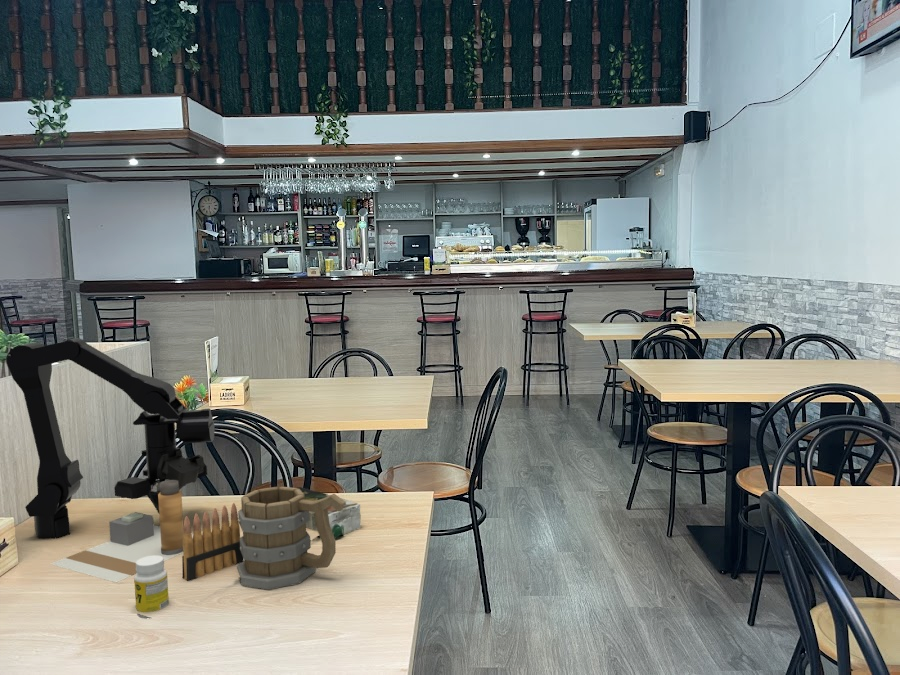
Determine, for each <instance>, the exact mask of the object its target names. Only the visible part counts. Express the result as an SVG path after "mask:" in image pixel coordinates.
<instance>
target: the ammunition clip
mask: <svg viewBox="0 0 900 675" xmlns="http://www.w3.org/2000/svg"><path fill="white" fill-rule="evenodd" d="M211 515H212V516H211V517H212V518H211V519H212V520H210V516H209V513H208V511H207V510H204V513H203V517H202V527H201V520H200V517H199V514H198V513H197V512H195V514H194V518H193V524H192V526H191V523H190V522H191V521H190V519H189V516H187V515H186V516H185V517H184V519H183V531H184V533H183V553H182V554H183V555H182V556H181V558H182V559H181V560H182V564H181V565H182V571H181V573H182V580H183V579H184V580H185V581H187V582H190V581H192V580H196V579H197V578H199V577H203V576H205V575H206V574H212V573H214V572H215V571H220V570H224V568H229V567H232V566H233V565H234V566H237V565H239V564H240V563H242V562H243V561H244V558H243V556H242V553H241V551H240V538H241V530H240V528H241V527H240V524H239V522H238V521H239V516H238V509H237V505H236V503H235V502H233V503H232V505H231V508H230V519H229V511H228V509H227V507H226V504H225V505H223V506H222V511H221V526H220V517H219V516H220V515H219V512H218V510H217V508H216V507H215V508H213V512H212V514H211ZM229 520H230V521H229ZM211 523H212V524H211ZM201 528H202V529H201ZM192 531H193V532H192ZM191 533H193V539H192V534H191Z"/></svg>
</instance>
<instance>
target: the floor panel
mask: <svg viewBox="0 0 900 675" xmlns="http://www.w3.org/2000/svg"><path fill="white" fill-rule="evenodd" d="M153 525H154V524H153ZM191 534H192V539H193V532H191ZM181 554H183V552H181V553H178V554H174V555H164V554H162V553H161V533H160V525H154V536H151V537H149V538H146V539H144V540H141V541H139V542H136V543H134V544H131V545H129V546H127V545H123V544H118V543H114V542H111V541H110V540H108V541H106V542H103V543H100V544H98V545H95V546H93V547H91V548H88V549H85V550H82V551H80V552H77V553H75V554H71V555H69V556H66V557H64V558H61V559H59V560H56V561H54V562H51V563H49V565H51V566H55V567H58V568H62V569H66V570H68V571H73V572H77V573H80V574H82V575H88V576H90V577H94V578H98V579H102V580H105V581H109V582H112V583H118V582H121V581H124V580H125V579H128V578H130V577H132V576H135V574H136V573H137V572H136V561H137V560H139V559H140V558H143V557H146V556H153V555H157V556H162V557H163V559H164V562H166V561H168V560H170V559H172V558H175V557H177V556H180V555H181Z"/></svg>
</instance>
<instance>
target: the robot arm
mask: <svg viewBox="0 0 900 675" xmlns="http://www.w3.org/2000/svg"><path fill="white" fill-rule="evenodd" d="M5 361H6V362H5V364H6V367H7V368H8V370H9V373H10V375H11V378H12V380H13V381H14V382H15V384H16V385H17V386H18V387H19V388H20V390H21V391H22V393H23V397H24V400H25V406H26V410H27V415H28V418H29V422H30V426H31V431H32V434H33V438H34V443H35V447H36V451H37V455H38V459H39V465H38V470H37V477H36V484H37V485H36V487H37V495H35V496H34V497H33V498H32V499H31V500H30V502H29V503H27V505H25V507H24V508H25V509H26V510H25V511H26V513H27V514H28V516H29V517H31V518H32V517H33V519H34V520H33V521H34V522H33V523H34V535H35V537H36V538H37V539H40V540H48V539H53V540H54V539H61V538H63V537H67V536H69V535H71V527H70V526H71V525H70V517H69V509H68V506H67V504H68V503H70V502H71V500H72V498H73V495H75V494H76V493H77V492H78V491H79V489H80V487H81V484H82V483H81V481H82V479H84V476H83V474H82V473H81V471H80V462H79V459H75V460H73V461H72V460H71V459H70V458H69V456H68V455H67V454H66V452H65V446H64V443H63V439H62V435H61V431H60V430H61V429H60V427H59V426H60V425H59V422H58V418H57V414H56V413H57V412H56V409H55V404H54V400H53V395H52V392H51V385H50V382H51V377H52V372H53V365H52V364H54V363H60V362H64V361H71V362H73V363H75V364H77V365H79V366H80V367H82V368H84V369H85V370H87V371H88V372H90V373H92V374H93V375H96V376H97V377H99V378H101V379H102V380H104V381H106V382H108V383H109V384H111V385H113V386H115V387H117V388H118V389H120V390H122V391H123V393H126V395H127V396H128V397H129V399H130V400H131V401H132V402H133V403H134V404H136V405H137V406H138V407H139V408H140V409H142V410H143V411H142V412H140V413H139V415H138V417H137V418H136V419H135V420H133V422H132V425H134V426H142V425H144V440H145V449H143V450H141V456H142V457H146V458H145V459H146V469H144V470H142V475H143V476H144V477H147V478H140V477H134V476H131V477H128V478H125V479H121V480H118V481H117V482H116V483H115V484H114V496H116V497H119V498H123V499H124V498H126V499H131V500H137V499H139V498H144V497H146V496H147V498H148V499H149V500H150V502H151V503H152V504H153V506H154V508H155V510H156V512H157V513H158V514H159V500H158V494H159V493H160V483H161V482H163V481H167V480H178V483H179V490H180V491H181V489H183V487H185V486H186V485H188V484H192V483H193V484H194V483H196V482H197V480H198V479H199V478H202V477H205V476H207V475H208V466H207V465H206V464H205V462H204V457H203V456H202V455H201V454H196V455H193V456H191V457H187V458H185V457H183V450H182V449H181V447H177V442H176V440H179V441H181V442H182V443H183V444H197V443H213V442H214V439H215V422H214V419H213V415H212V410H211V409H212V408H202V409H192V410H188V409H187V407H186V406H185V405H184V404H183V403H182V402H181V401H180V399H179V398H178V397H177V396H176V392H175V387H174V386H173V385H171V383H168V382H167V381H163V380H162V379H158V378H157V377H153V376H150V375H145V374H142V373H140V372H137V371H135V370H134V369H131V368H130V367H129V366H126V365H124V364H123V363H121V362H119V361H117V360H116V359H114V358H113V357H111V356H109V355H108V354H105V353H104V352H102V351H100V350H99V349H97V348H95V346H92V345H90V344H88V343H87V342H86V341H85V340H84V339H82V338H80V337H74V338H70V339H67V340H64V341H61V342H55V343H52V344H47V345H44V344H43V343H41V342H40V343H39V342H29V343H25V344H21V345H18V346H15V347H13V348H11V349H10V350H9V352H8V353H7V354H6V356H5ZM176 437H177V439H176Z"/></svg>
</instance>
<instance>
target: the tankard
mask: <svg viewBox="0 0 900 675" xmlns="http://www.w3.org/2000/svg"><path fill="white" fill-rule="evenodd" d="M329 495H330V496H328V497H325V498H323V499H320V500H317V501H310V500H305V495H304V494H303V493H302V491H301V490H300V489H298V488H297V487H289V486H273V487H265V488H260V489H259V488H258V489H257V490H256V489H255V490H252V491H251V492H249V493H246V494H244V495H243V496H241V498H240V499H241V500H240V501H241V503H240V504H241V509H238V510H237V513H238V522H239V527H240V528H241V531H242V536H240V551H241V553H242V556H243V560H244V561H243V562H242V563H239V564H236V569H237V573H238V574H239V577H238V579H239V581H240V584H241V586H242V585H243V586H244V587H247V586H248V587H249V588H256V589H260V588H261V590H266V589H267V590H266V591H269V589H270V590H273V589H274V590H275V589H279V588H285V587H290V586H294V585H295V586H296V585H299V584H300V583H302V582H303V581H305V580H306V579H307V578H308V577H310V576H311V575H312V574H314V573H315V572H316V571H317V569H321V568H323V569H325V568H328V567H330V565H331V563H332V561H333V559H334V557H335V555H336V550H337V549H336V538H334V535H333V532H332V530H331V527H330V524H329V517H328V509H327V508H329V507H331V506H332V507H334V508H335V509H336V510H337V511H341V510H342V509H343V508H344V506H345V504H346V502H345V501H344V500H342V499H343V498H342V497H340V496H338V495H337V494H336V493H332V494H329ZM341 498H342V499H341ZM309 511H312V512H315V520H316V527H317V530H318V531H317V532H318V536H319V535H320V538H319V539H320V540H321V544H322V546H321V554H318V555H317V554H314V553H310V552H308V551H309V550H310V549H311V548H312V547H311V535H310V534H309V533H308V531H307V528H306V523H307V522H309V521H310V520H309Z"/></svg>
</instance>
